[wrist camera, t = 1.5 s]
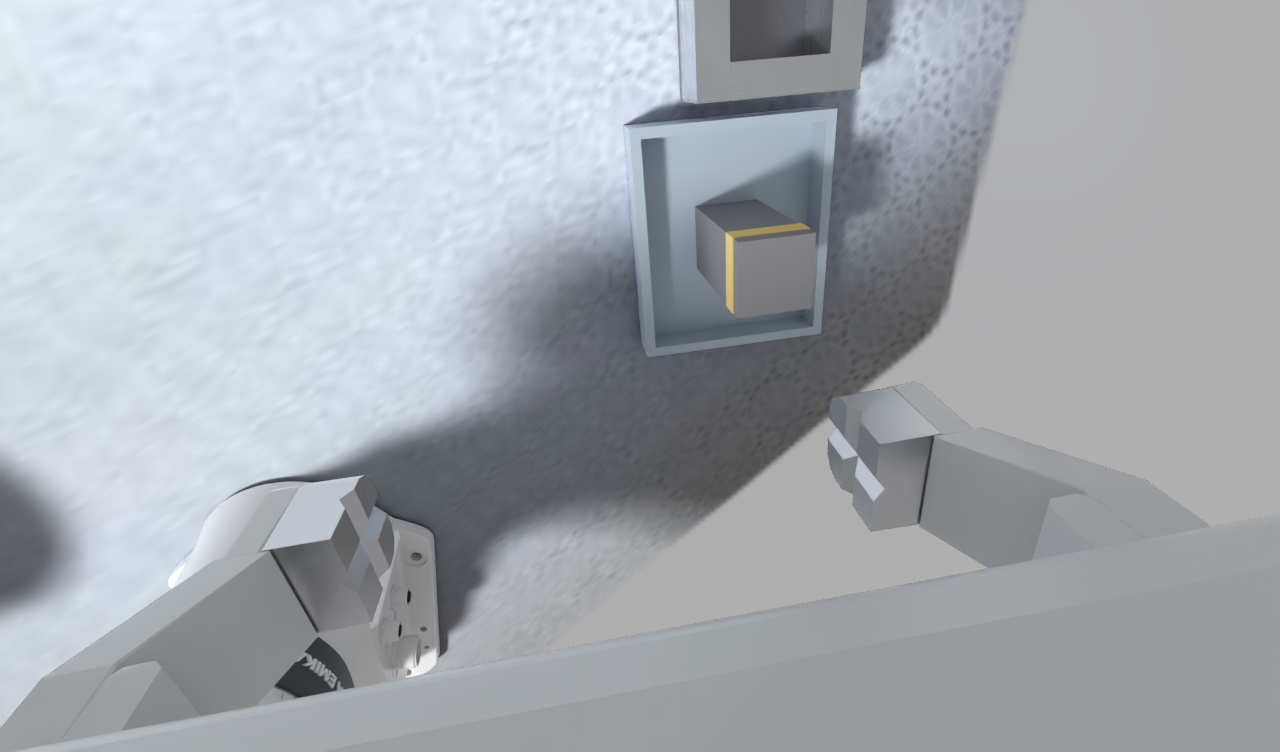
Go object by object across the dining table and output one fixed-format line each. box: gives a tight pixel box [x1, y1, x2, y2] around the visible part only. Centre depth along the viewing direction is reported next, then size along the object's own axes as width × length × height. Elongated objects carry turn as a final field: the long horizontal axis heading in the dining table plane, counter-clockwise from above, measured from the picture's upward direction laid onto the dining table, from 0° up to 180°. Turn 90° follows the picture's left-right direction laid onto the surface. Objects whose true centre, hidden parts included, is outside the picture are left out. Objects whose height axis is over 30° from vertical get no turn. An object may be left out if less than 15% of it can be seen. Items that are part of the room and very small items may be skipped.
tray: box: [623, 106, 838, 358], centre depth 37 cm, size 14×12×3 cm
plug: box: [695, 199, 816, 318], centre depth 34 cm, size 4×4×9 cm
